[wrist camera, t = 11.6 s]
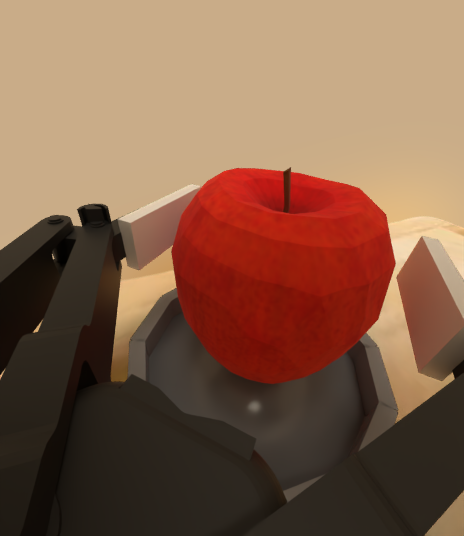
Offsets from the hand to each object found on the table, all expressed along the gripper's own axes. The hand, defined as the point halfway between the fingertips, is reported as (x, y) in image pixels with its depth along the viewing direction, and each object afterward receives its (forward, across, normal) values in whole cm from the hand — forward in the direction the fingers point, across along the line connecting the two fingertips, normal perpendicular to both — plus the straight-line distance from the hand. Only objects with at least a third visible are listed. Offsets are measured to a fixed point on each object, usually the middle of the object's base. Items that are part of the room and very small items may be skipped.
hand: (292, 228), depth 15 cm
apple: (-2, 0, -10) cm, 10 cm away
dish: (-3, 0, -10) cm, 11 cm away
